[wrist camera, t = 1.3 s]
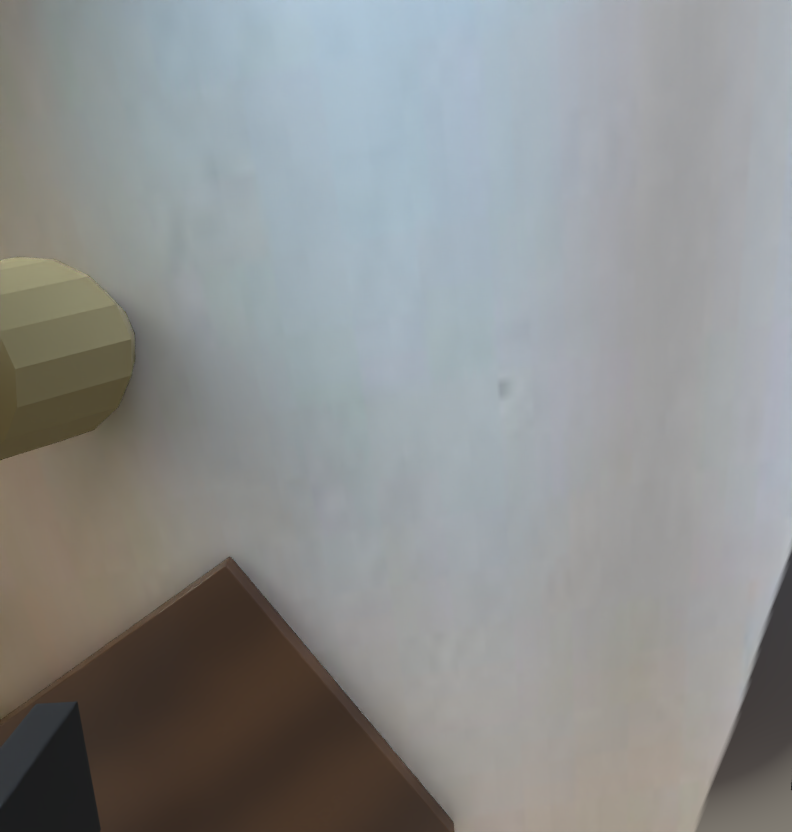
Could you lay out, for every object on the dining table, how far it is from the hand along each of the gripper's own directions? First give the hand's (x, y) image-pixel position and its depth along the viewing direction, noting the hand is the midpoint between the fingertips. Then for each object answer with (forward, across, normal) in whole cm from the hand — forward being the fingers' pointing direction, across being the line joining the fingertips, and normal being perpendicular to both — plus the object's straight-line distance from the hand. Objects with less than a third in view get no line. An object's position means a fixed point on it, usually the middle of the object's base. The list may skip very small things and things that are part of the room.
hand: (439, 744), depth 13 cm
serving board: (+23, -14, -21) cm, 34 cm away
